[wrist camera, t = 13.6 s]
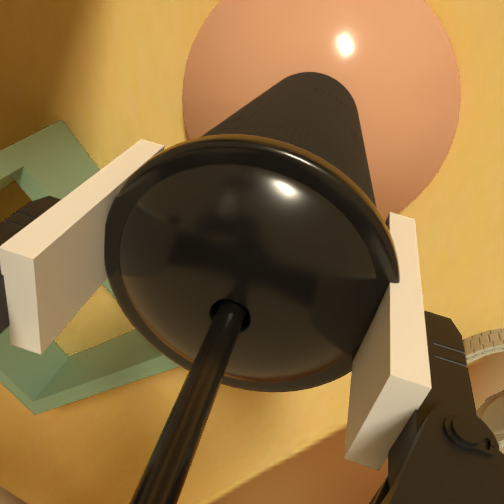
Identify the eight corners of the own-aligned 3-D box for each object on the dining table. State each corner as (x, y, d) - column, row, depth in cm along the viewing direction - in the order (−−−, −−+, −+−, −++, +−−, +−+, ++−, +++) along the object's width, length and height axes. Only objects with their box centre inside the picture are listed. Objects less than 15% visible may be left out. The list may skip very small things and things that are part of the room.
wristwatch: (450, 417, 35) (459, 480, 30) (392, 366, 33) (392, 424, 29) (576, 363, 30) (606, 429, 26) (513, 300, 28) (534, 359, 24)
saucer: (141, 62, 26) (131, 66, 25) (379, -122, 20) (379, -126, 19) (273, 258, 31) (269, 268, 30) (500, 162, 24) (505, 171, 23)
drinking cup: (294, 219, 26) (150, 676, 10) (202, 107, 24) (-185, 454, 8) (421, 140, 22) (536, 667, 6) (327, -1, 20) (94, 219, 4)
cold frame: (-72, 223, 37) (-189, 291, 29) (61, 119, 29) (-50, 176, 22) (69, 370, 42) (1, 458, 35) (211, 314, 35) (163, 413, 27)
